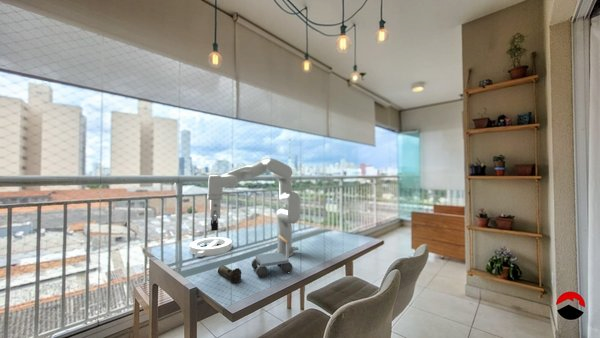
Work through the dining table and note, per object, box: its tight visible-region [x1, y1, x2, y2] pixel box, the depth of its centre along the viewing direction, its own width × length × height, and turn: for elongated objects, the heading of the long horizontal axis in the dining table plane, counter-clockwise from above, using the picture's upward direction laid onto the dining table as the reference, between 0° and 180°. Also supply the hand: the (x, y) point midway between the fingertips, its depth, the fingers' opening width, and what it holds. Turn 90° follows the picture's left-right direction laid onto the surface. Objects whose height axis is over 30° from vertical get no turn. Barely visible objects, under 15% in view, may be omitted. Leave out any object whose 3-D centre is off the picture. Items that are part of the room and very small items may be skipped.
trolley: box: [251, 235, 293, 279], centre depth 134 cm, size 20×14×18 cm
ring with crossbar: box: [189, 236, 233, 258], centre depth 170 cm, size 28×28×5 cm
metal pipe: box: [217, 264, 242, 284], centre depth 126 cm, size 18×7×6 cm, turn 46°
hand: (214, 228), depth 132 cm, fingers open, 9 cm apart
